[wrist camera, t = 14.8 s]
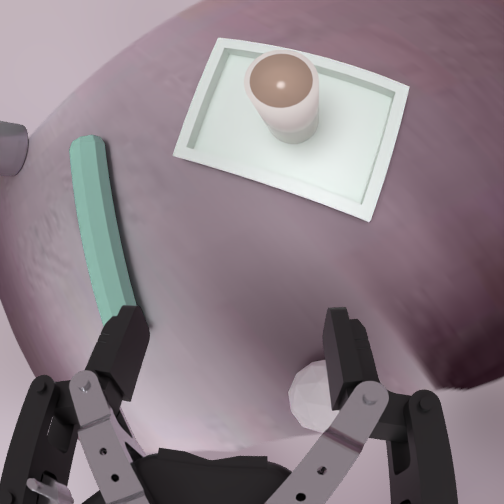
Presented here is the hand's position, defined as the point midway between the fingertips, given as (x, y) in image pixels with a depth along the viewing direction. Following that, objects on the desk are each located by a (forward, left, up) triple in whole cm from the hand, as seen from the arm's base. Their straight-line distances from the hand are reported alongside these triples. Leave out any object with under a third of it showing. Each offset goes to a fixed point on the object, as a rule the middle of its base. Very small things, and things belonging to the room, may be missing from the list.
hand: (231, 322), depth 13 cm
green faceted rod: (-21, -5, -19) cm, 28 cm away
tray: (-4, +13, -18) cm, 23 cm away
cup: (-4, +13, -17) cm, 22 cm away
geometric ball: (+9, -11, -19) cm, 23 cm away
